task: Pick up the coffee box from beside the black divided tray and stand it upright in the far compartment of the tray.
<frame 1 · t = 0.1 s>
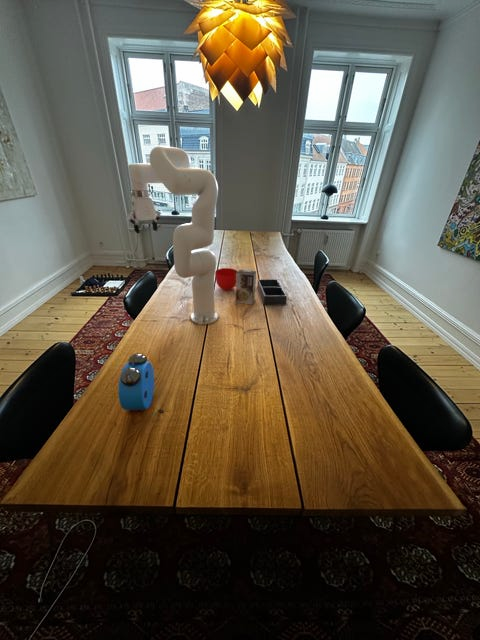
hand: (146, 231, 130), 31 cm above the table, tool pointing down, fingers open, 9 cm apart
coffee box: (245, 301, 136), on the table
alarm clock: (142, 402, 76), on the table
ceramic cup: (228, 289, 148), on the table
black divided tray: (270, 295, 143), on the table
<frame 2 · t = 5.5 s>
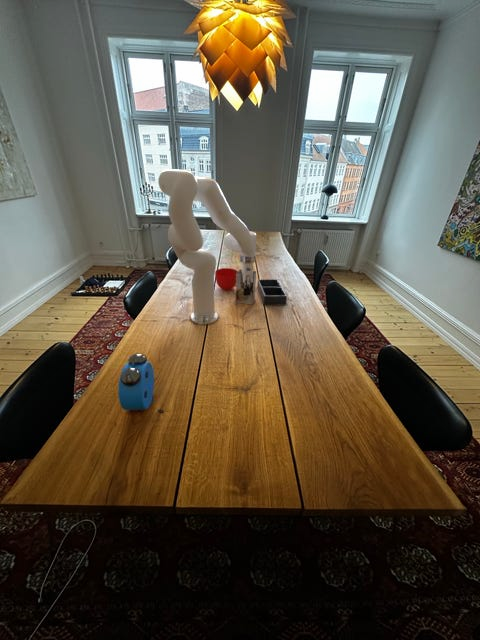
hand: (245, 291, 133), 6 cm above the table, tool pointing down, fingers closed on coffee box, 8 cm apart
coffee box: (245, 301, 136), on the table, touching gripper
everything else where it was.
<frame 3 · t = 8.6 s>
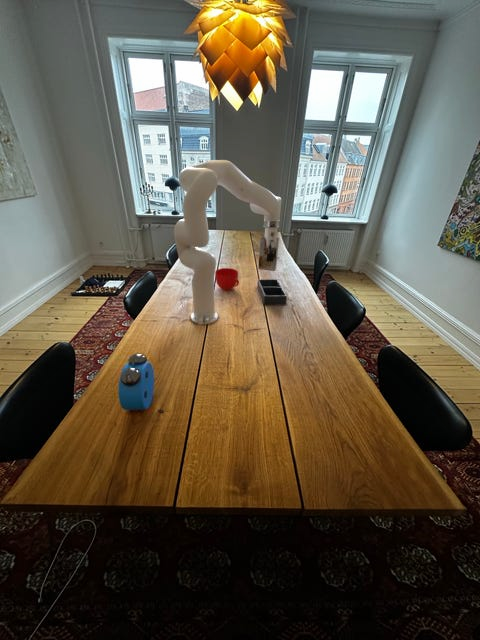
hand: (268, 258, 135), 20 cm above the table, tool pointing down, fingers closed on coffee box, 8 cm apart
coffee box: (267, 268, 138), point 14 cm above the table, touching gripper
everything else where it was.
when the fingers open (7 cm above the table, at t = 12.0 s): coffee box stays where it is, resting on black divided tray.
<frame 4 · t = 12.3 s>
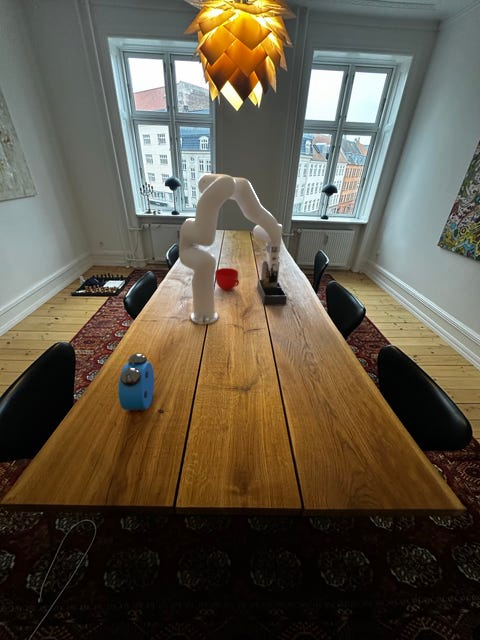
hand: (269, 279, 144), 8 cm above the table, tool pointing down, fingers open, 9 cm apart
coffee box: (268, 290, 147), point 1 cm above the table, touching black divided tray
everything else where it was.
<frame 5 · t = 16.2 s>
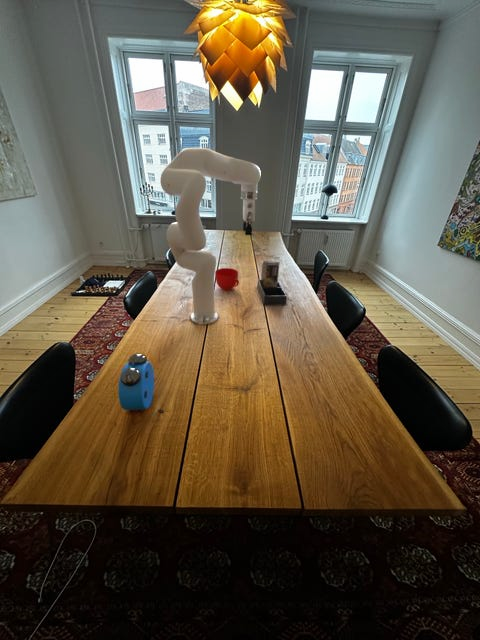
hand: (247, 232, 130), 32 cm above the table, tool pointing down, fingers open, 9 cm apart
nothing on the table moved.
at the end: coffee box 0.1 cm from the target spot in the black divided tray, point 0.6 cm above the black divided tray's base; coffee box tilted 0°; the gripper is holding nothing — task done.
